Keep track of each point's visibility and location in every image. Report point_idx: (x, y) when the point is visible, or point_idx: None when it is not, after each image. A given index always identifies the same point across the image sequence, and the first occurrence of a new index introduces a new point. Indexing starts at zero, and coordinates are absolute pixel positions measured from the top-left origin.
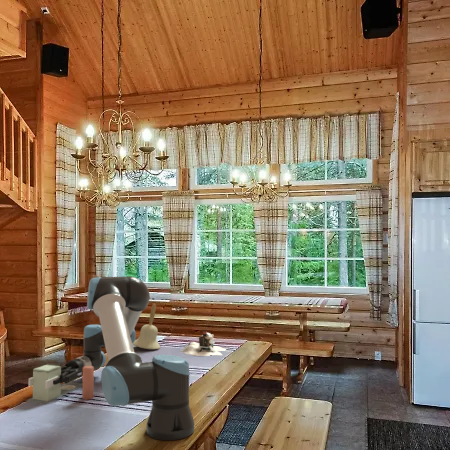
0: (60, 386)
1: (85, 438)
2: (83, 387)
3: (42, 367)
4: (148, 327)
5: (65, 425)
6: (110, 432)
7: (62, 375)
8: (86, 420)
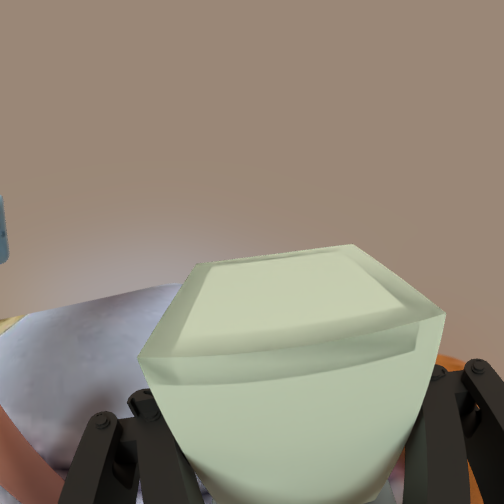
0: (214, 496)
1: (54, 317)
2: (23, 436)
3: (337, 269)
4: None
5: (91, 335)
6: (17, 333)
7: (131, 402)
8: (48, 357)
